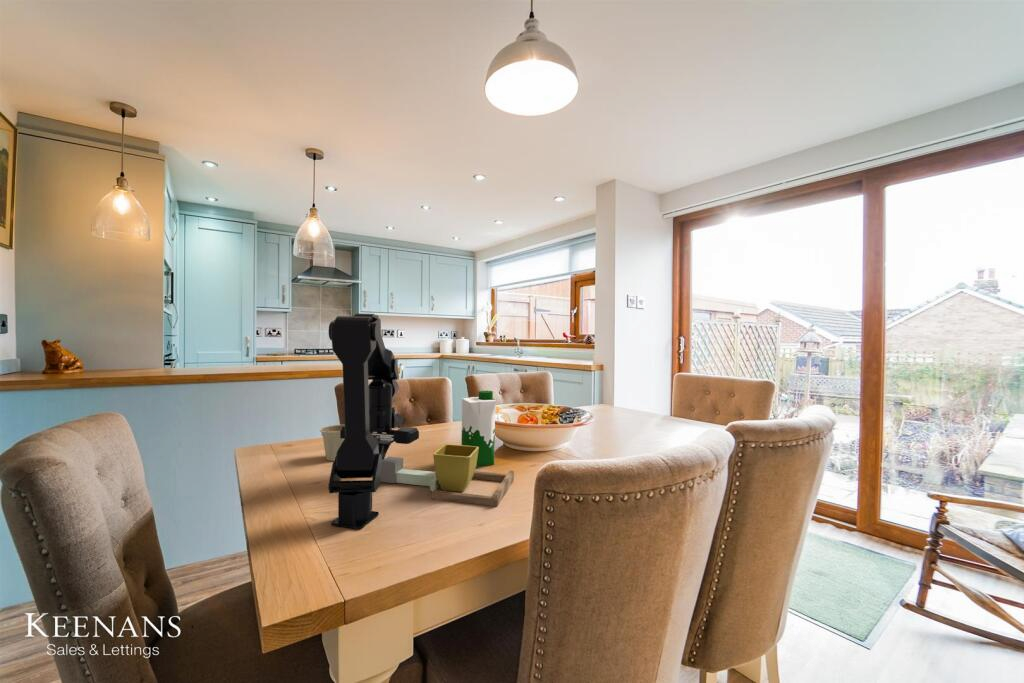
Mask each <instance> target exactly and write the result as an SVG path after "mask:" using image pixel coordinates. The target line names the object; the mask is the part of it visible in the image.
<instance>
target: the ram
mask: <svg viewBox="0 0 1024 683" xmlns="http://www.w3.org/2000/svg"><path fill="white" fill-rule="evenodd" d="M380 483H387V484H388V483H389V484H396V483H397V484H407V485H415V486H423V487H429V491H431V492H433V491H434V490H438V489H439V488H441V487H440V485H439V483H438V481H437V479H436V475H435V471H429V470H418V469H407V468H404V457H399V456H386V457H385V458H384V459H383V460H382V464H381V478H380Z"/></svg>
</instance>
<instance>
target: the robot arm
mask: <svg viewBox="0 0 1024 683" xmlns="http://www.w3.org/2000/svg"><path fill="white" fill-rule="evenodd" d="M381 322H382V321H381V318H379V315H378V314H375V313H355V314H352V315H348V316H347V315H337V316H336V318H335V319H333V320H332V321H330V323H329V324H328V338H329V340H330V341H331V349H332V352H333V353H334V355H335V356H336V357H337V359H338V360H339V362H341V364H342V383H343V385H342V387H343V390H342V391H343V415H344V416H343V417H344V425H345V426H343V427H342V428H341V430H340V438H343V439H344V441H343V442H342V444H341V446H340V447H339V449H338V451H337V455H336V457H335V461H332V465H331V469H330V474H329V475H330V476H329V481H328V491H329V493H328V494H337V496H338V497H337V498H338V499H337V500H338V502H337V503H338V504H337V505H338V506H337V507H338V508H337V510H338V511H337V512H338V513H337V515H338V516H337V517H336V518H335V519H333V520H332V521H330V522H331V523H330V525H331V526H335V527H343V528H348V529H349V528H350V529H356V530H360V529H363V528H364V527H365V526H366V525H368V524H369V523H370V522H372V521H373V520H374V519H375V518H377V517H379V514H380V513H379V511H376V510H375V511H374V510H373V493H376V492H377V490H378V488H379V486H380V485H381V482H380V478H381V464H382V460H383V459H385V458H386V455H387V453H388V450H389V449H390V446H391V445H392V444H393V443H394V442H395V444H402V445H408V444H409V445H410V444H411V443H413V442H415V441H417V440H418V439H420V431H419V430H418V428H417V427H416V426H415V427H413V426H403V422H404V415H401V414H399V413H396V408H395V407H394V406H393V398H394V397H395V396H396V395H397V394H398V392H399V388H400V386H399V383H398V380H399V379H400V375H399V367H398V366H399V365H398V359H397V358H395V354H394V353H393V351H392V350H390V349H388V348H386V347H385V342H384V340H383V337H382V323H381ZM370 380H371V382H370V383H369V381H370ZM396 428H397V429H396ZM341 479H363V480H341ZM365 479H367V480H365ZM369 479H370V480H369Z"/></svg>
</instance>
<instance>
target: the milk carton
mask: <svg viewBox="0 0 1024 683" xmlns="http://www.w3.org/2000/svg"><path fill="white" fill-rule="evenodd" d="M497 403H498V402H497V400H496V399H494V392H493V391H492V390H478V396H471V397H461V445H465V446H476V447H479V449H478V457H477V464H476V468H477V467H482V466H485V467H486V466H491V465H495V447H496V446H495V444H496V443H495V439H496V438H495V437H496V435H495V434H496V433H495V432H496V431H495V430H496V424H495V423H496V408H497Z"/></svg>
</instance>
